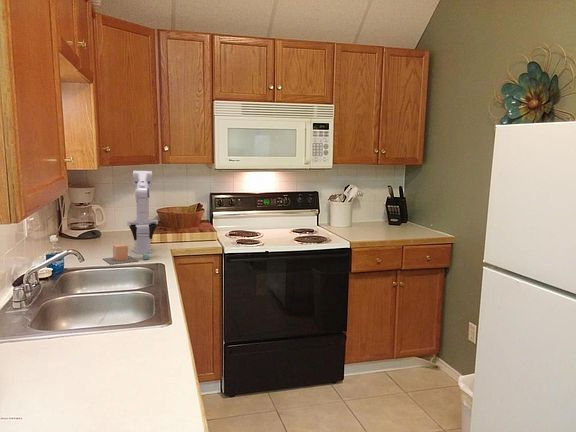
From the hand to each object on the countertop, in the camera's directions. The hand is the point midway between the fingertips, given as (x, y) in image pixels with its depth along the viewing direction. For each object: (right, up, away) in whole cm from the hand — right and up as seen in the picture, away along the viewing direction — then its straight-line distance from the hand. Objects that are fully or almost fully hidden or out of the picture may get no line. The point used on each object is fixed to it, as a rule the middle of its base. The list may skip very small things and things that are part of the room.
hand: (143, 239), depth 224 cm
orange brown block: (-9, -10, -6) cm, 14 cm away
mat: (-9, -10, -6) cm, 14 cm away
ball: (+2, -8, -2) cm, 9 cm away
